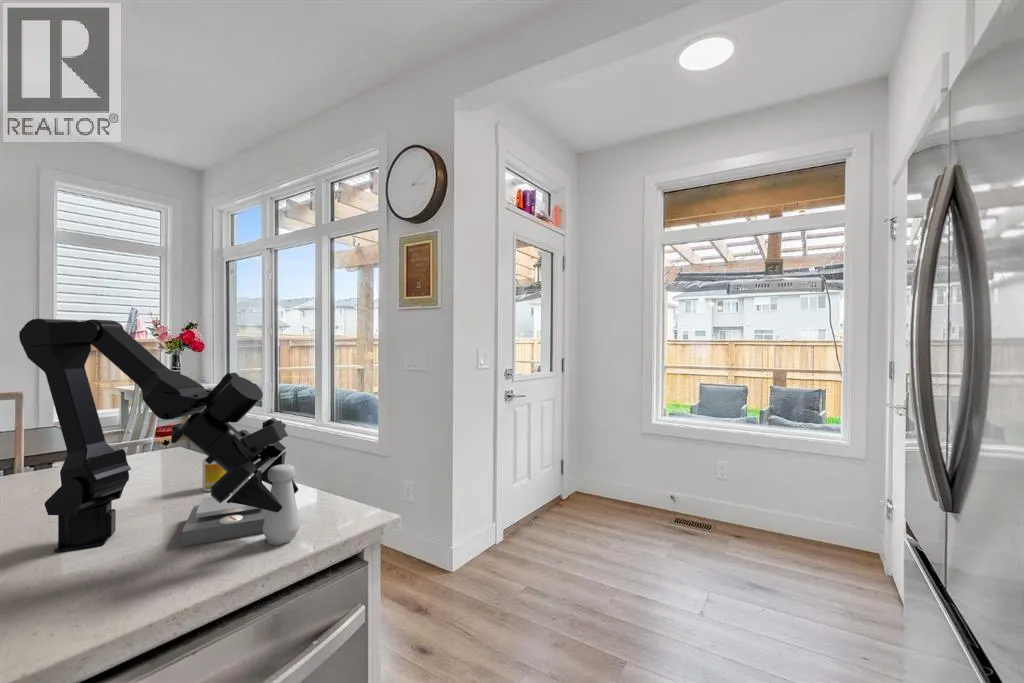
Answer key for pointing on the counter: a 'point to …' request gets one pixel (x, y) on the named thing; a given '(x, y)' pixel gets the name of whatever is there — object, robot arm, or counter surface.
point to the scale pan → (219, 507)
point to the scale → (222, 526)
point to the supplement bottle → (211, 474)
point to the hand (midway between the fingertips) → (288, 500)
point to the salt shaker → (285, 521)
